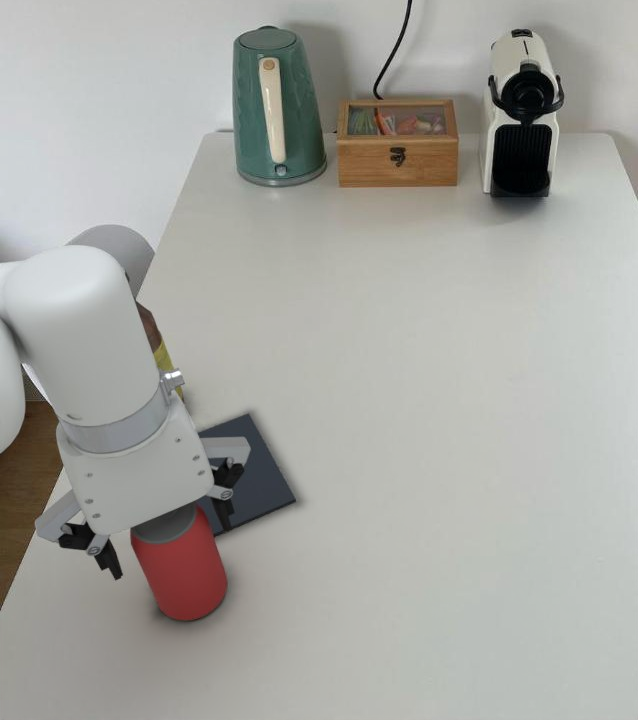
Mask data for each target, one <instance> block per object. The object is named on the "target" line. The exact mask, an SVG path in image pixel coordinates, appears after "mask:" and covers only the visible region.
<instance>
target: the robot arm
mask: <svg viewBox="0 0 638 720" xmlns="http://www.w3.org/2000/svg"><path fill="white" fill-rule="evenodd" d="M120 265H121V264H120V263H119V261H117V259H116V258H115V257H114V256H112V255H111V254H110V253H108V252H107V251H105V250H103V249H102V248H101V249H100V248H98V247H95V246H92V245H91V246H90V245H83V244H82V245H81V244H67V245H60V246H56V247H52V248H48V249H46V250H45V249H44V250H43V251H40V252H38V253H36V254H34V255H32V256H30V257H28V258H27V259H24V260H16V261H7V262H0V454H2V453H3V452H4V451H5V450H6V449H7V448H9V446H10V445H11V444H12V443H13V442H14V441H15V440H16V438H17V437H18V434H19V433H20V430H21V428H22V425H23V422H24V420H25V414H26V395H25V386H24V378H23V371H22V366H21V365H22V364H25V365H28V366H30V367H31V368H32V370H33V371H34V373H35V375H36V377H37V378H38V381H39V382H40V384H41V387H42V388H43V391H44V393H45V395H46V397H47V399H48V401H49V404H50V405H51V406H52V410H53V412H54V414H55V416H56V418H57V420H58V424H57V426H56V429H55V436H56V444H57V447H58V451H59V452H58V453H59V455H60V456H59V457H60V460H61V462H62V465H63V468H64V470H65V473H66V476H67V478H68V481H69V484H70V486H71V488H70V490H69V491H67V492H66V493H65V494H64V495H63V496H61V498H60V499H58V500H57V501H56V502H54V503H53V504H52V505H51V506H50V507H49V508H48V509H47V510H45V511H44V512H43V513H42V514H40V516H38V517H37V518H36V519H35V520H34V527H35V530H36V531H35V532H36V535H37V537H39V538H42V539H44V540H47V541H49V542H51V543H52V544H54V543H56V544H58V545H59V547H60V548H62V549H66V550H77V551H83V552H84V551H85V553H86V555H87V556H88V557H93V558H94V560H95V562H96V563H97V565H98V567H99V569H100V571H101V572H102V571H105V570H108V569H109V571H110V574H111V575H112V577H113V580H115V582H116V581H118V580H120V579H122V577H123V576H124V573H123V569H122V566H121V563H120V559H119V557H118V554H117V550H116V548H115V547H114V545H113V543H112V541H111V539H110V538H111V536H112V535H114V534H117V533H122V532H123V531H126V530H128V529H129V530H130V528H131V527H134V526H136V525H138V524H141V523H143V522H146V521H148V520H151V519H153V518H155V517H158V516H160V515H163V514H165V513H167V512H170V511H172V510H174V509H177V508H179V507H181V506H184V505H186V504H188V503H190V502H193V501H195V500H197V499H199V498H201V497H202V496H204V495H206V496H209V497H210V498H211V501H212V504H213V507H214V510H215V512H216V514H217V516H218V519H219V521H220V523H221V525H222V528H223V530H224V531H225V532H230V531H232V530H233V528H232V526H231V523H230V520H229V517H228V516H230V515H232V514H234V513H235V511H234V508H233V505H232V502H231V497H232V495H233V491H232V488H233V487H234V485H235V484H236V483H237V481H238V480H239V479H240V477H241V476H242V475H243V473H244V471H245V470H244V465H245V463H246V462H247V459H248V456H249V454H250V451H251V447H250V446H249V444H248V442H247V440H246V438H245V437H216V438H199V435H198V433H199V432H198V431H197V429H196V426H195V424H194V421H193V419H192V417H191V415H190V413H189V411H188V409H187V406H186V405H185V402H184V403H183V402H182V400H181V398H180V397H179V395H178V394H177V392H176V391H175V390H176V387H179V386H181V387H182V386H184V385H185V383H186V382H185V380H184V377H183V374H182V372H181V370H180V368H179V367H176V368H174V369H173V370H171V371H169V370H165V371H163V370H162V368H159V369H158V367H157V364H156V361H155V359H154V356H153V353H152V350H151V347H150V344H149V341H148V339H147V336H146V333H145V330H144V327H143V324H142V321H141V318H140V315H139V312H138V310H137V307H136V304H135V301H134V298H133V296H134V294H133V295H132V293H133V291H132V288H131V285H130V282H129V283H128V281H127V278H126V276H125V274H124V271H123V269H122V267H121V266H122V265H121V266H120ZM129 285H130V286H129ZM130 288H131V289H130ZM131 291H132V292H131ZM210 458H225V460H224V461H223V463H222V464H221V465H220V467H219V468H218V467H215V466H212V465H210V464H209V461H208V459H210ZM79 512H82V515H83V517H84V518H83V520H82V521H81V523H80V524H79V523H72V522H69V521H70V520H72V518H74V517H75V516H77V514H78V513H79Z"/></svg>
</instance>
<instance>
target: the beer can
mask: <svg viewBox="0 0 638 720" xmlns="http://www.w3.org/2000/svg"><path fill="white" fill-rule="evenodd" d="M129 536H130V537H129V539H130V541H129V542H130V546H131V548H132V550H133V553H134V554H135V557H136V559H137V561H138V564H139V566H140V568H141V570H142V572H143V574H144V577H145V579H146V582H147V583H148V586H149V588H150V590H151V593H152V595H153V596H154V599H155V601H156V604H157V605H158V607H159V610H160V611H161V612H162V613H163V614H165V616H167V617H169V618H171V619H174V620H177V621H193V620H197V619H200V618H203V617H205V616H206V615H208V614H210V613H211V612H212V611H214V610H215V609H216V608H217V607H218V606H219V605H220V603H221V602H222V600H223V599H224V597H225V595H226V592H227V588H228V578H227V573H226V569H225V567H224V564H223V561H222V560H223V559H222V557H221V555H220V551H219V548H218V545H217V543H216V540H215V536H213V533H212V530H211V527H210V524H209V521H208V518H207V516H206V514H205V512H204V511H203V509H202V508H201V506H200V505H199V504H197V503H196V502H195V501H193V502H190V503H188V504H186V505H184V506H181V507H179V508H177V509H174V510H172V511H170V512H167V513H165V514H163V515H160V516H158V517H155V518H153V519H151V520H148V521H146V522H143V523H141V524H138V525H136V526H134V527H131V528H129Z"/></svg>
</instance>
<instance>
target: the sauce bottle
mask: <svg viewBox="0 0 638 720" xmlns="http://www.w3.org/2000/svg"><path fill="white" fill-rule="evenodd" d="M120 266H121V267H122V269H123V271H124V274H125V276H126V278H127V281H128V283H129V286H130V289H131V292H132V295H133V298H134V301H135V304H136V307H137V310H138V312H139V315H140V318H141V321H142V324H143V327H144V330H145V333H146V336H147V339H148V341H149V344H150V347H151V350H152V353H153V356H154V359H155V361H156V364H157V367H158V369H159V368H162V370H163V371H165V370H169V371H171V370H173V369H175V367H174V365H173V362H172V359H171V357H170V354H169V352H168V349H167V346H166V343H165V341H164V338H163V335H162V333H161V331H160V330H159V328H158V325H157V322H156V320H155V317H154V315H153V313H152V311H151V310H149V309H147V308H146V307H145V306H143V305H142V304H141V303H140V302H138V300H137V298H136V297H135V296H134V292H133V291H132V288H131V285H130V280H131V279H130V276H129V274H128V273H127V269H126V268H125V267H124V266H123V265H121V264H120ZM175 391H176V392H177V394H178V395H179V397H180V398H181V400H182V402H183V403H184V404H185V398H184V395H183V389H182V385H181V386H179V387H176V390H175Z"/></svg>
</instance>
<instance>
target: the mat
mask: <svg viewBox="0 0 638 720" xmlns="http://www.w3.org/2000/svg"><path fill="white" fill-rule="evenodd" d="M197 433H198V435H199V438H216V437H245V438H246V440H247V442H248V444H249V446H250V447H251V451H250V454H249V456H248V459H247V462H246V463H245V465H244V470H245V471H244V473H243V475H242V476H241V477H240V479H239V480H238V481H237V483H236V484H235V485H234V487H233V488H232V491H233V495H232V497H231V502H232V505H233V508H234V511H235V513H234V514H232V515H230V516H228V517H229V520H230V523H231V526H232V529H235V528H237V527H239V526H241V525H244V524H247V523H248V522H251V521H253V520H256V519H258V518H260V517H262V516H265V515H266V514H269V513H272V512H274V511H277V510H279V509H281V508H283V507H285V506H288V505H290V504H293V503H295V502H296V501H297V499H296V497H295V495H294V493H293V492H292V489H291V488H290V486H289V484H288V482H287V480H286V479H285V477H284V475H283V473H282V472H281V470H280V468H279V466H278V464H277V462H276V460H275V459H274V457H273V455H272V453H271V451H270V449H269V448H268V446H267V444H266V442H265V440H264V439H263V436H262V435H261V433H260V431H259V429H258V427H257V426H256V424H255V421H254V420H253V418H252V416H251V414H250V413H249V412H248V413H245V414H243V415H241V416H238V417H235V418H233V419H230V420H228V421H225V422H222V423H219V424H217V425H214V426H212V427H208V428H205V429H204V430H201V431H198V432H197ZM224 460H225V458H210V459H208V461H209V464H210V465H212V466H215V467H218V468H219V467H220V465H221V464H222V463H223V461H224ZM195 502H196V503H197V504H199V505H200V506H201V508H202V509H203V511H204V512H205V514H206V516H207V518H208V521H209V524H210V527H211V530H212V533H213V536H214V537H216V536H218V535H221V534H223V533H225V532H226V531H224V530H223V528H222V525H221V523H220V521H219V519H218V516H217V514H216V512H215V510H214V507H213V504H212V501H211V498H210V497H209V496H206V495H204V496H202V497H201V498H199V499H197V500H195Z"/></svg>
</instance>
